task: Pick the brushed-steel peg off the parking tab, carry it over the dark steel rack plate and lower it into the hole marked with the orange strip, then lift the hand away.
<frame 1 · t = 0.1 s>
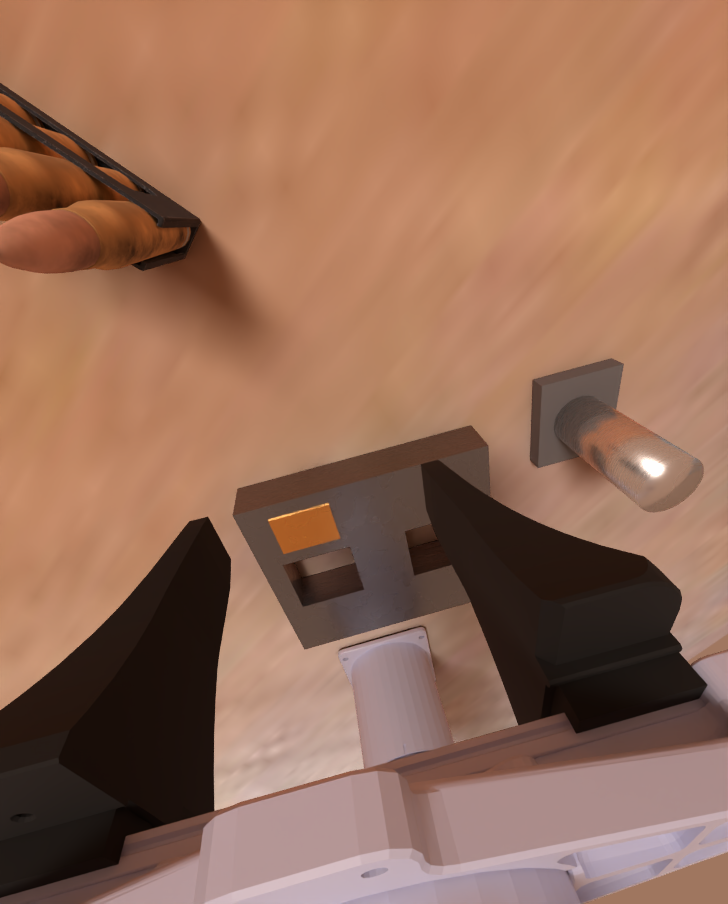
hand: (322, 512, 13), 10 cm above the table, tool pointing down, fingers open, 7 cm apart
parking tab: (568, 412, 25), on the table
ammunition clip: (55, 149, 15), on the table
rack plate: (376, 535, 28), on the table
steel peg: (578, 419, 24), point 1 cm above the table, touching parking tab
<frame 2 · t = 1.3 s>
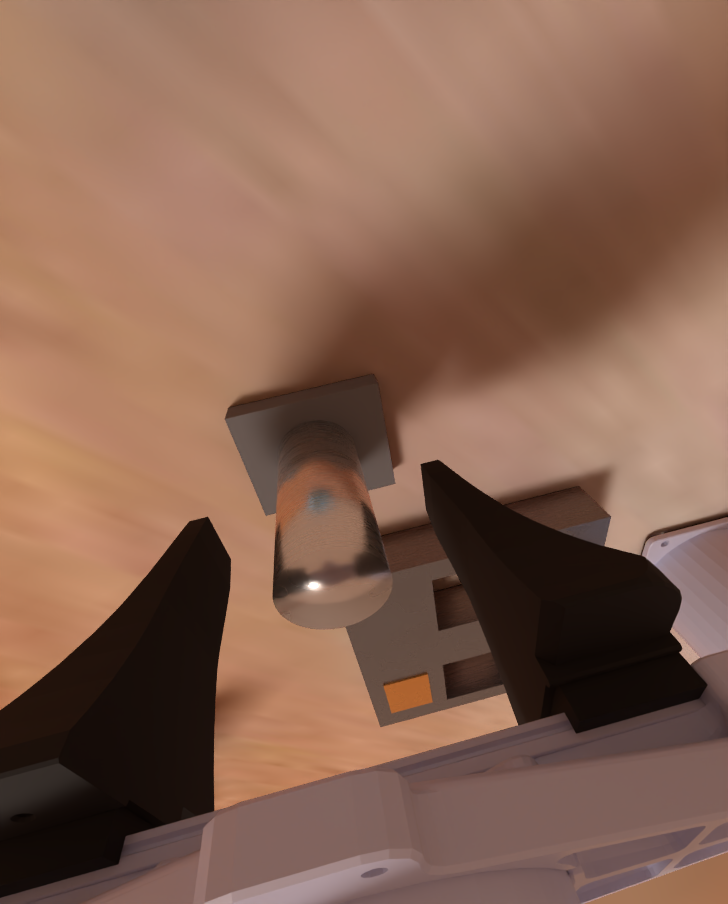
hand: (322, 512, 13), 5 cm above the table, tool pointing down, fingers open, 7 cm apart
parking tab: (316, 442, 17), on the table
rack plate: (460, 603, 25), on the table
steel peg: (317, 454, 16), point 1 cm above the table, touching parking tab
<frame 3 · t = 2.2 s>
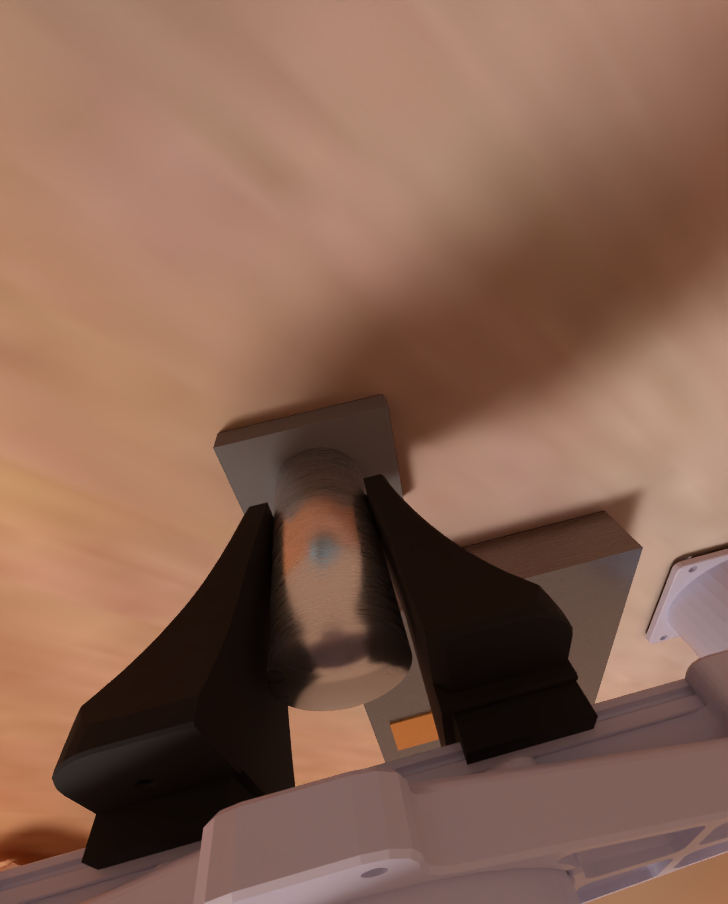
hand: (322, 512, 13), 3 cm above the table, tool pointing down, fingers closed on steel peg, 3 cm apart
parking tab: (317, 469, 15), on the table
rack plate: (472, 633, 23), on the table
steel peg: (319, 484, 14), point 1 cm above the table, touching gripper, parking tab
when the fingers open (3 cm above the table, at t = 6.4 s): steel peg drops 2 cm, resting in rack plate.
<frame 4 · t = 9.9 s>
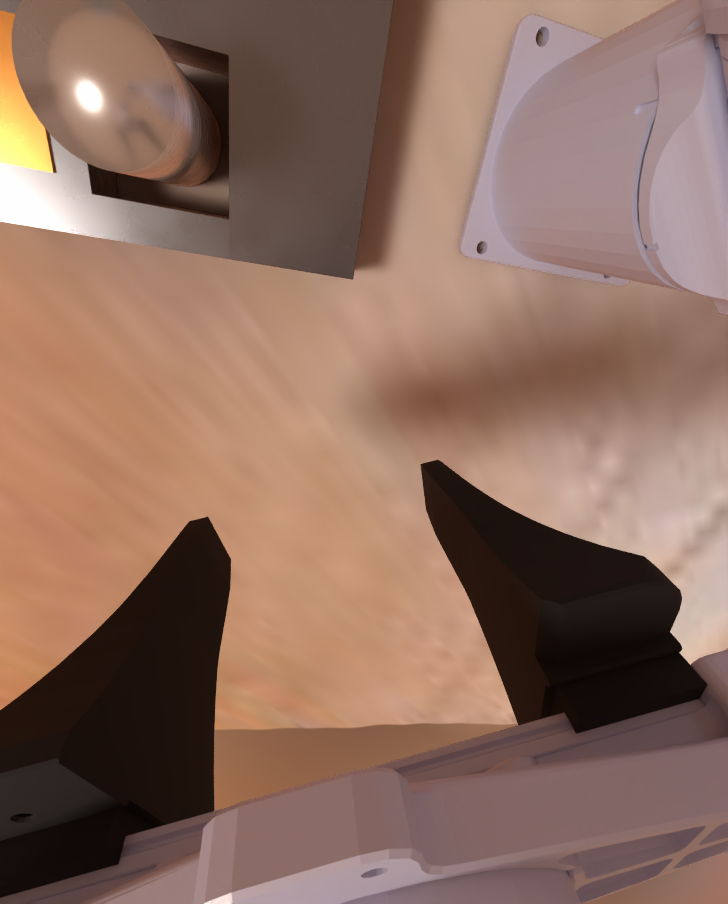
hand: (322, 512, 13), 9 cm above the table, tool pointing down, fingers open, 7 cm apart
steel peg: (176, 134, 15), resting in rack plate
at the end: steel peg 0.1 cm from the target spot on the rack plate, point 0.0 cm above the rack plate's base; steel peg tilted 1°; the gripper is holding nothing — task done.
